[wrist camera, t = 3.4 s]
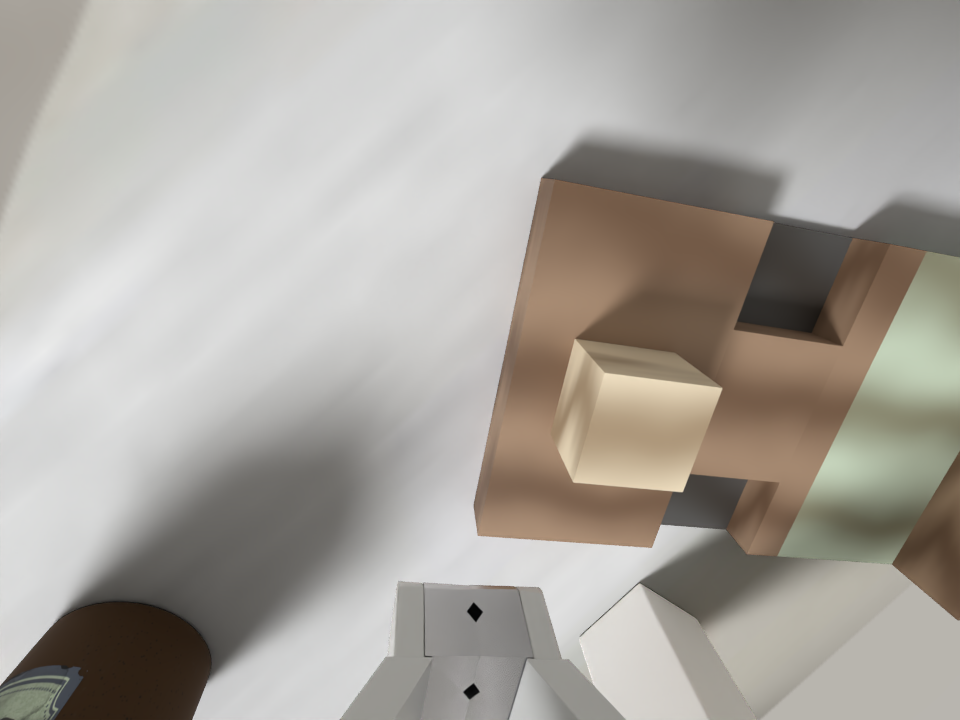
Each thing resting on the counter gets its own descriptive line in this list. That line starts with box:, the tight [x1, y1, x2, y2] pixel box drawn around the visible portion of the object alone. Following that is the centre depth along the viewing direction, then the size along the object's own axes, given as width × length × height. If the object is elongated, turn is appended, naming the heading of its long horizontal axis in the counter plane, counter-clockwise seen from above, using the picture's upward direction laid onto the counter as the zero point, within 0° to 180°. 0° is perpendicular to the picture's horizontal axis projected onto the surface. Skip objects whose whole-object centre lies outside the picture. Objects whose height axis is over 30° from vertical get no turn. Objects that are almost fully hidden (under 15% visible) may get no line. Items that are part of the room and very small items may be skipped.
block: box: [550, 339, 723, 492], centre depth 22 cm, size 5×5×4 cm
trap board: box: [474, 178, 960, 620], centre depth 24 cm, size 18×27×6 cm, turn 80°
